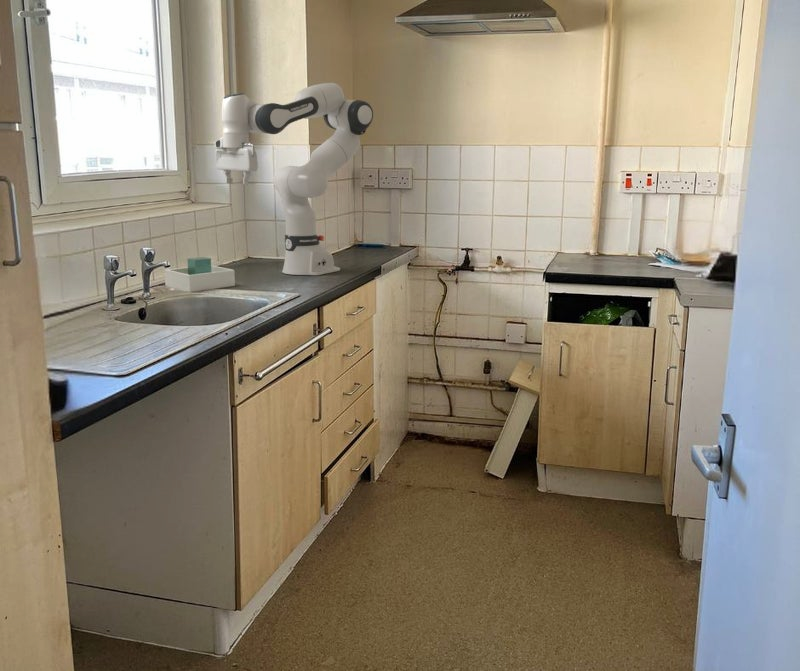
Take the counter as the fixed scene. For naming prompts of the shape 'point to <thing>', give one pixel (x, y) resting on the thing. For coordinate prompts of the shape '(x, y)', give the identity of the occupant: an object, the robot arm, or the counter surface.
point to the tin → (199, 265)
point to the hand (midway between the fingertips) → (237, 184)
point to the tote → (199, 279)
